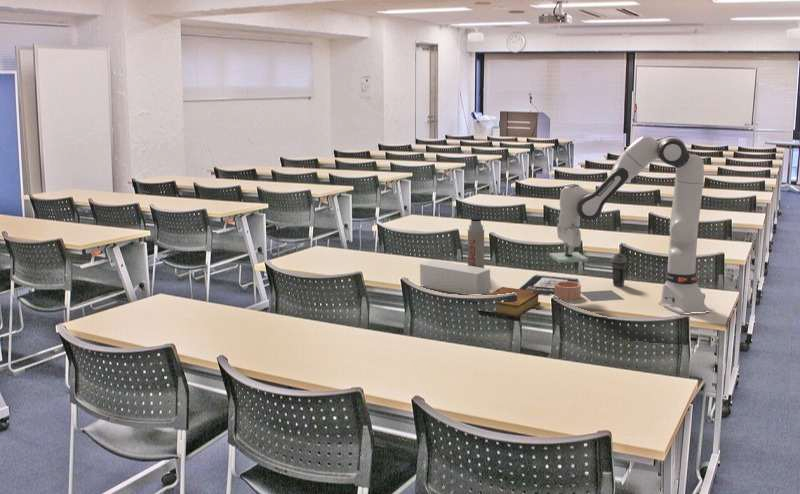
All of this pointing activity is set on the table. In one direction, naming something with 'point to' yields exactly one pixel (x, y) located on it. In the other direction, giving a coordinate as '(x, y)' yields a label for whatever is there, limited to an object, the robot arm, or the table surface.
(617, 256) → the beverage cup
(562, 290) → the bowl
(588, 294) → the mat
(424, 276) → the white oblong block
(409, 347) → the table surface
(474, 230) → the thermos bottle
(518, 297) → the diary
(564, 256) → the teal square knobbed lid
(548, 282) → the sketchbook
